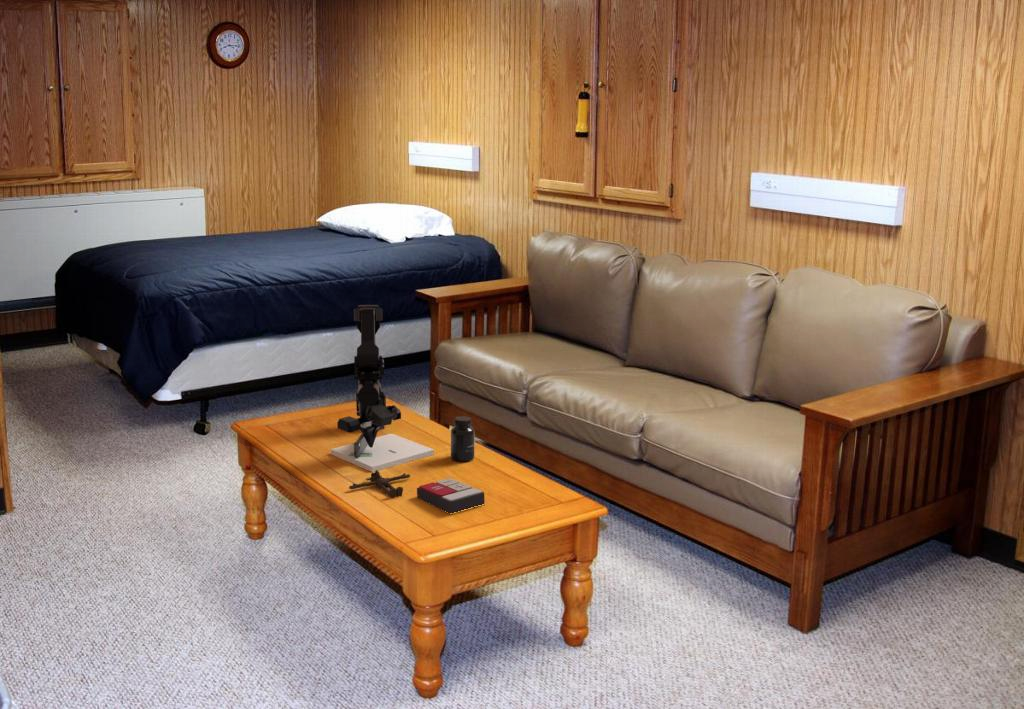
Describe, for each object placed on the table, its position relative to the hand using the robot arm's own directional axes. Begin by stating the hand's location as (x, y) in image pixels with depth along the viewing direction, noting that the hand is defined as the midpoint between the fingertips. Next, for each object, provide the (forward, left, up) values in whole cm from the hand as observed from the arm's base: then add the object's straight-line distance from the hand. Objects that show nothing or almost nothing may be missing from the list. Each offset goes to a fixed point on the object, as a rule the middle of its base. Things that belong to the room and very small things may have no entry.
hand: (370, 447), depth 309 cm
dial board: (0, +4, -3) cm, 5 cm away
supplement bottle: (+18, +19, -3) cm, 26 cm away
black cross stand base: (+22, -12, -4) cm, 26 cm away
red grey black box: (+41, -5, -4) cm, 41 cm away
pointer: (-4, 0, -1) cm, 4 cm away
